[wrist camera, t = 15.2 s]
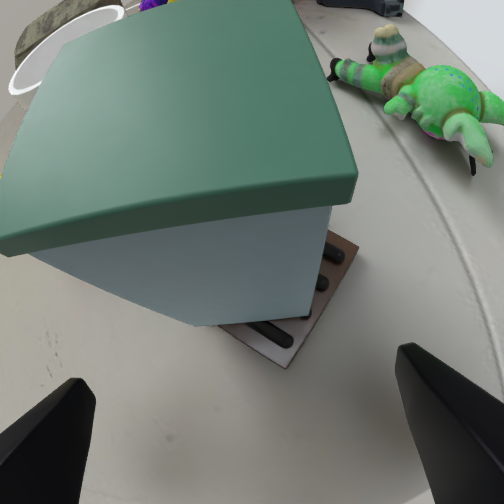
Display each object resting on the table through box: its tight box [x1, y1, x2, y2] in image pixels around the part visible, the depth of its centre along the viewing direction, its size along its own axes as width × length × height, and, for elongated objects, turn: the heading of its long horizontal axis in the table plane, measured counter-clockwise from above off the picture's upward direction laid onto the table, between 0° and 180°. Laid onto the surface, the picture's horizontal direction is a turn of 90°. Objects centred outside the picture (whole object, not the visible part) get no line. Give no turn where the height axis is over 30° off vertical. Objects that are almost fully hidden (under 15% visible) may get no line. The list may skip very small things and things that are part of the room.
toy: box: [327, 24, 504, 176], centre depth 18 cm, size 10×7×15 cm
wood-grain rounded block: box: [15, 0, 128, 70], centre depth 28 cm, size 14×9×25 cm
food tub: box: [0, 0, 358, 327], centre depth 11 cm, size 6×6×13 cm
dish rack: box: [217, 230, 359, 369], centre depth 18 cm, size 10×8×2 cm
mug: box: [9, 5, 128, 111], centre depth 20 cm, size 13×10×10 cm
